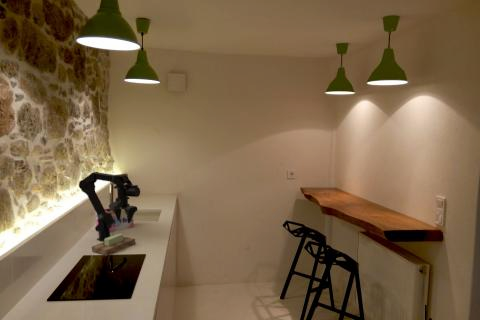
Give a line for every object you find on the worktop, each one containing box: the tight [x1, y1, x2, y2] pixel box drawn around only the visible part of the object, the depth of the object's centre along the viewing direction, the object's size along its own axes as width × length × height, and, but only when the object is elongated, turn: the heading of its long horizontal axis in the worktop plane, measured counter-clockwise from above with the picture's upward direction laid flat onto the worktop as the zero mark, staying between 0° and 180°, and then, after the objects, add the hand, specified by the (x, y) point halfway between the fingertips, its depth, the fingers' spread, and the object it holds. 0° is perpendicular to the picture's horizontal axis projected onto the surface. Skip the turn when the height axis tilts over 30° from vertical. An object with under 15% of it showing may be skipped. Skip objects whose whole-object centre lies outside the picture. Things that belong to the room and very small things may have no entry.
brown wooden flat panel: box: [91, 235, 136, 257], centre depth 195 cm, size 12×20×3 cm, turn 150°
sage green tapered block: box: [103, 233, 124, 246], centre depth 195 cm, size 4×10×6 cm, turn 150°
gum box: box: [94, 206, 135, 234], centre depth 229 cm, size 24×8×14 cm, turn 124°
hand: (123, 221), depth 204 cm, fingers open, 9 cm apart
